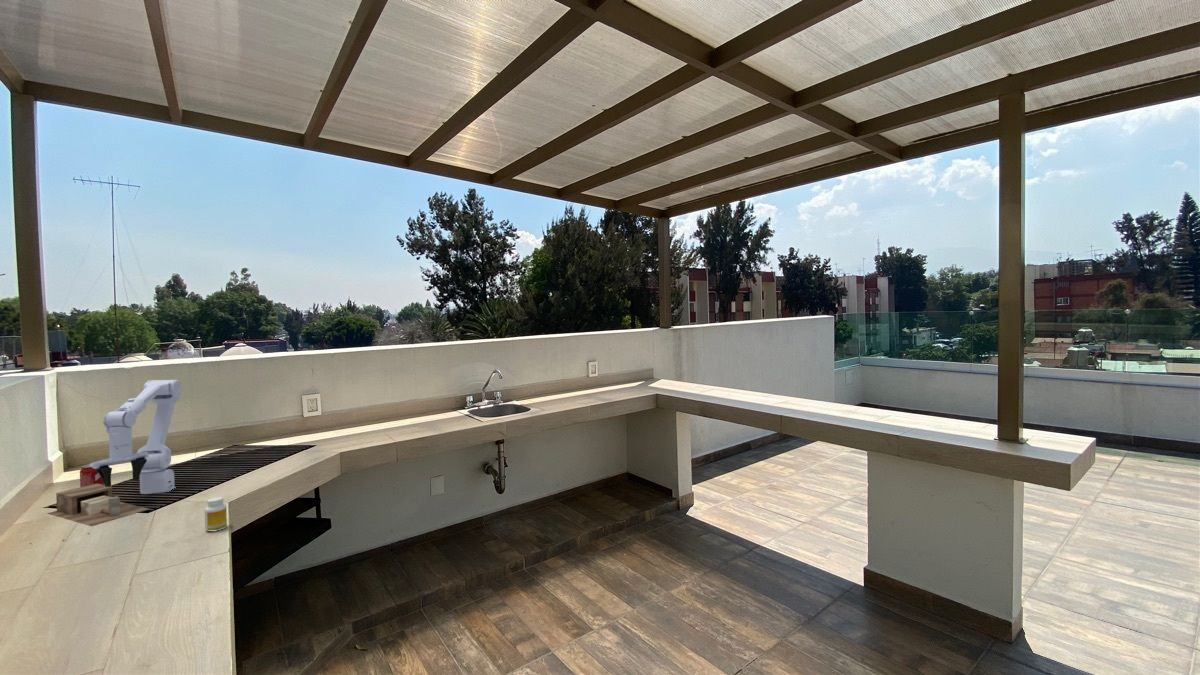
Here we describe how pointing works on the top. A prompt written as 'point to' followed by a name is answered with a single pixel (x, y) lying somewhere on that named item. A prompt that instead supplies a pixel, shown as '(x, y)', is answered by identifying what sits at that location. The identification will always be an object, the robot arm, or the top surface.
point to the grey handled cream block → (101, 506)
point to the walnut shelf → (72, 499)
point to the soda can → (89, 476)
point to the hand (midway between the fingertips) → (122, 482)
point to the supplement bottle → (215, 514)
